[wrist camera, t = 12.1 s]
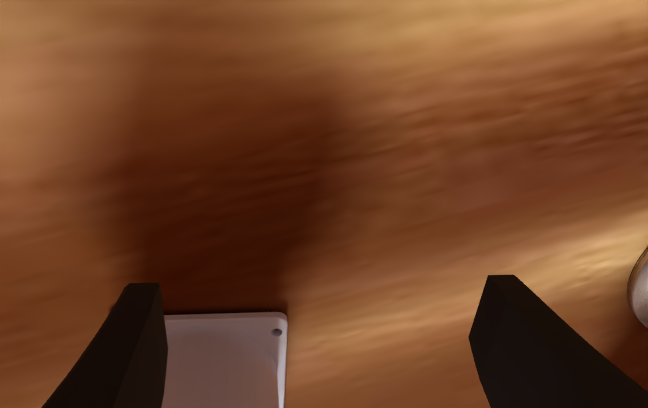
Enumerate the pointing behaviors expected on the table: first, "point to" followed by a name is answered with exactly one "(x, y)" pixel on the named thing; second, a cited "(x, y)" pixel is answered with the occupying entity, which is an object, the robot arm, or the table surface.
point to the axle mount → (639, 289)
